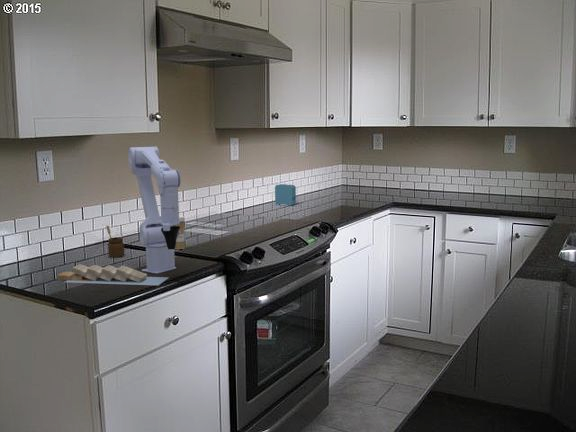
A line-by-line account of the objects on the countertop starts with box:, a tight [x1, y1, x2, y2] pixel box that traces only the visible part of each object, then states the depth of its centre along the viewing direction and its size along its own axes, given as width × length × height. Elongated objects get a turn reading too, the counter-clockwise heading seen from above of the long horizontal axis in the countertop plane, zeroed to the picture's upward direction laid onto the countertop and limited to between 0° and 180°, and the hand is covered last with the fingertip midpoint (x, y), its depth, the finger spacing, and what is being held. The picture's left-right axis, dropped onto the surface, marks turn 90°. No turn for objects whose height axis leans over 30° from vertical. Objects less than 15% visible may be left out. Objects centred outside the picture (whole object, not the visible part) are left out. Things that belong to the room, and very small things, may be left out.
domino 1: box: [56, 271, 86, 281], centre depth 211 cm, size 2×5×9 cm
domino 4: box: [101, 264, 129, 282], centre depth 208 cm, size 2×5×9 cm
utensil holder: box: [106, 225, 125, 259], centre depth 245 cm, size 6×6×12 cm
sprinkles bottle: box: [174, 215, 186, 251], centre depth 256 cm, size 5×5×14 cm
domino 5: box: [115, 265, 148, 282], centre depth 207 cm, size 2×5×9 cm
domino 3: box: [86, 264, 115, 282], centre depth 209 cm, size 2×5×9 cm
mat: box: [64, 276, 170, 286], centre depth 209 cm, size 32×10×1 cm, turn 80°
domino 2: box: [71, 263, 100, 281], centre depth 210 cm, size 2×5×9 cm
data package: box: [274, 183, 297, 206], centre depth 379 cm, size 12×4×12 cm, turn 58°
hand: (171, 249), depth 207 cm, fingers closed
